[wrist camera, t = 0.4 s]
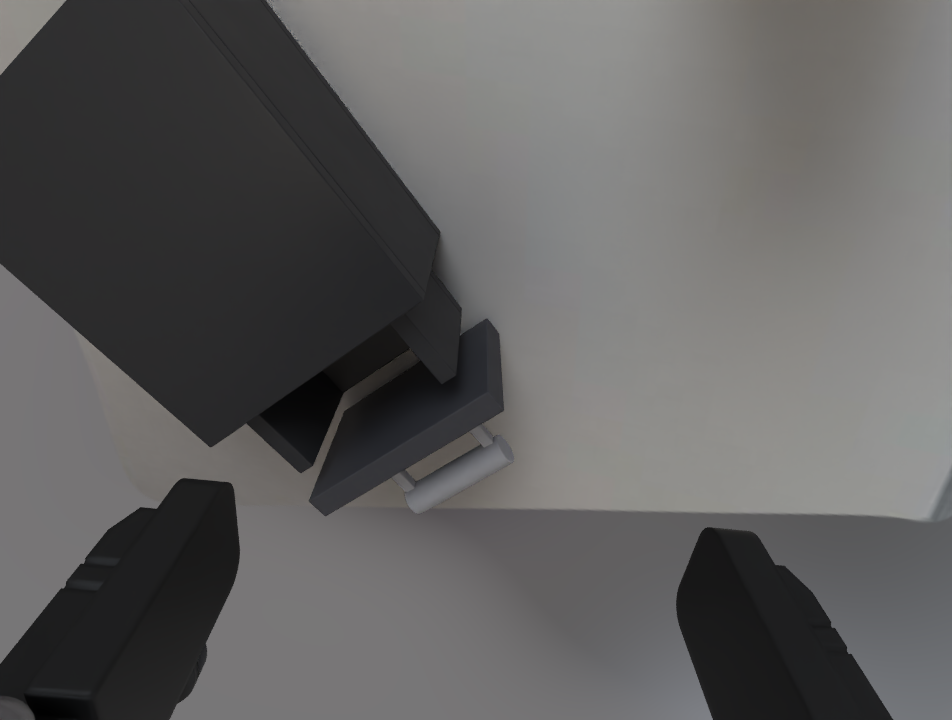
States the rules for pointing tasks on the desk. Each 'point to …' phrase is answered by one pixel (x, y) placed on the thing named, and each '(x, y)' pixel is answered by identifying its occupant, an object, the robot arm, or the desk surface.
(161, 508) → the robot arm
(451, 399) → the drawer
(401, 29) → the desk surface
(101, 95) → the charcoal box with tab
